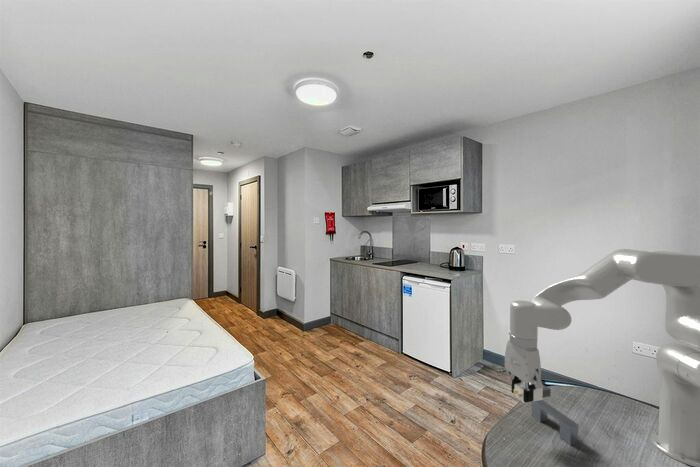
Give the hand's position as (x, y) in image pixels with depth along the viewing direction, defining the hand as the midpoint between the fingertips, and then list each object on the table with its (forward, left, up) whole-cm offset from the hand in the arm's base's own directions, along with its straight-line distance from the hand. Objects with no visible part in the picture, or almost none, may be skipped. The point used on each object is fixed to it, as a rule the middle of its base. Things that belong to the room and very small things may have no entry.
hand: (522, 396), depth 91 cm
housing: (-11, -6, -13) cm, 18 cm away
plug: (-4, -2, -1) cm, 4 cm away
